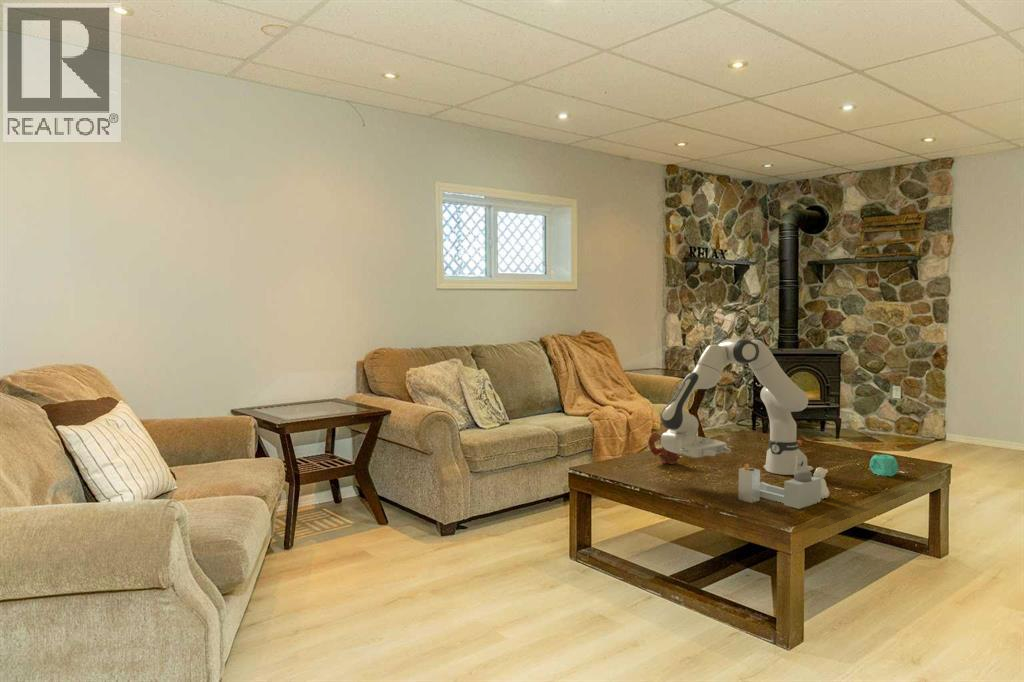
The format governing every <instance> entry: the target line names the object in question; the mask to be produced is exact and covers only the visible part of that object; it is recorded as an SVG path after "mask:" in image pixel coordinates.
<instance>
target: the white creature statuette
mask: <svg viewBox="0 0 1024 682" xmlns="http://www.w3.org/2000/svg"><path fill="white" fill-rule="evenodd" d="M828 472H829V469H827V468H826V469H824V468H823V467H821V466H819V467H816V469H815V471H814V473H812V475H813V476H812V477H817V478H821V500H825V499H824V498H826V499H828V497H829V496H830V490H829V488H828V486H827V481H826V480H825V477H826V475H827V473H828Z"/></svg>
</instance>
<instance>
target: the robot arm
mask: <svg viewBox="0 0 1024 682" xmlns="http://www.w3.org/2000/svg"><path fill="white" fill-rule="evenodd" d="M696 363H697V364H695V367H694V369H693V370H692V371H691V372H690V373H688V374H687V375H686V376H685V377H684V379H683V380H682V381H681V383H680V385H679V386H678V388H677V390H676V392H675V393H674V395H673V397H672V398H671V400H670V401H669V403H668V404H666V406H665V407H664V408H663V410H662V412H661V415H660V422H661V425H662V426H663V427H664V428H666V429H668V430H666V431H665V432H663V433H662V434H661V435H662V436H661V439H660V441H661V442H660V443H661V447H662V446H663V447H664V448H665V449H666V450H667V451H670V452H673V453H677V455H684V456H686V457H691V458H694V459H695V458H696V459H697V458H701V457H702V458H703V457H708V456H709V457H716V456H717V454H721V453H725V454H730V453H731V452H732V449H731V448H729V447H728V444H727V443H726V442H725V441H721V440H718V439H712V438H711V437H710V436H699V435H698V436H697V433H698V431H699V427H700V423H699V419H698V418H697V417H696V416H695V415H693V414H691V413H689V412H687V411H686V410H684V409H685V408H684V407H685V406H686V404H687V403H688V400H689V399H690V397H691V395H692V394H693V393H694V392H695V391H697V390H708V389H711V388H713V387H715V386H716V385H717V384H718V382H719V381H720V379H721V376H722V373H723V372H724V368H725V367H726V365H727V364H733V365H735V364H737V365H738V364H739V365H740V364H742V365H744V364H745V365H747V364H748V366H749V368H750V369H751V372H752V373H753V374H754V376H755V377H756V379H757V381H758V382H759V384H760V385H762V386H763V387H762V388H761V390H760V396H759V397H760V399H761V401H762V403H763V404H764V406H765V408H766V413H767V415H768V420H769V439H768V449H767V450H766V456H765V458H766V459H765V464H763V468H764V469H765V471H766V472H769V473H772V474H776V475H786V476H794V471H796V470H805V471H810V472H811V471H813V470H814V467H813V466H811V465H808V457H807V456H806V455H805V454H804V453H803V452H802V450H800V446H802V440H799V439H798V440H797V431H798V429H797V425H798V424H797V423H796V421H795V419H794V418H793V415H792V413H794V412H795V413H796V412H802V411H803V410H805V409H806V408H807V406H808V404H809V395H808V394H807V392H805V391H804V390H803V389H801V388H800V387H799V386H798V385H797V384H796V383H795V382H794V381H792V379H791V378H790V377H789V376H788V375H787V374H786V373H785V371H784V370H783V368H782V367H781V366H780V364H779V362H778V361H777V359H776V358H775V356H774V355H773V353H772V352H771V350H770V349H769V347H768V346H767V344H765V343H764V341H762V340H760V339H751V340H750V339H746V338H740V337H739V338H738V337H737V338H736V337H734V338H723V339H721V340H718V341H717V343H716V344H708V345H707V346H706V347H705V349H704V350H703V351H702V354H701V355H700V357H699V359H698V360H697V362H696Z"/></svg>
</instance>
